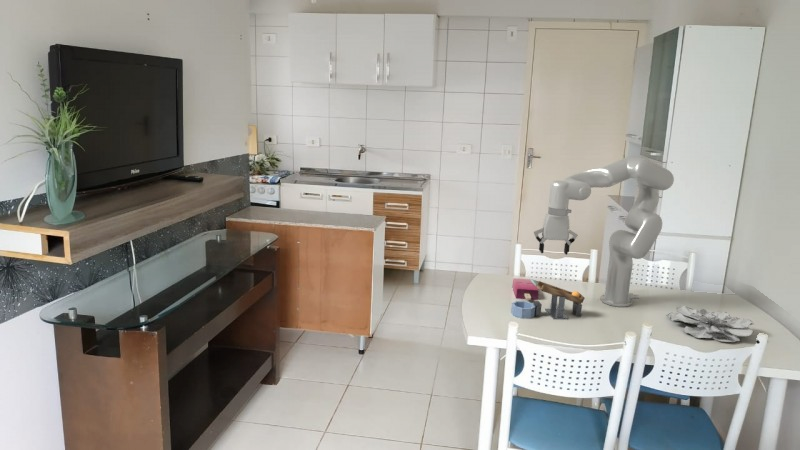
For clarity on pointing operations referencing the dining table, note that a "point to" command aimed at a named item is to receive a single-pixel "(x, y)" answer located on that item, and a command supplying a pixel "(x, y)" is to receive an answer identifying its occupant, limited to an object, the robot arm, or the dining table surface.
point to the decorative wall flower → (712, 324)
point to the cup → (523, 309)
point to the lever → (557, 291)
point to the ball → (576, 294)
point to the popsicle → (524, 289)
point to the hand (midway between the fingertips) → (553, 253)
